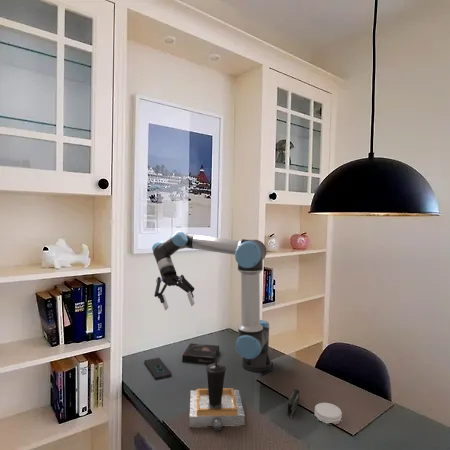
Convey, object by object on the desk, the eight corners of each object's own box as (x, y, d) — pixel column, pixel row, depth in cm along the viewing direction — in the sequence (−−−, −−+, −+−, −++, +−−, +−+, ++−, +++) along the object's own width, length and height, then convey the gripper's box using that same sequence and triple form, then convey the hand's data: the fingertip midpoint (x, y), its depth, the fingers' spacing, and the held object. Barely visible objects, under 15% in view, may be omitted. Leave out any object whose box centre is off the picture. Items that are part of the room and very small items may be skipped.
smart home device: (155, 377, 157) (143, 360, 175) (155, 381, 157) (143, 363, 175) (172, 373, 161) (159, 357, 179) (172, 377, 161) (159, 360, 179)
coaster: (347, 421, 130) (347, 412, 130) (328, 429, 125) (328, 419, 125) (327, 408, 139) (327, 399, 138) (309, 414, 134) (309, 405, 133)
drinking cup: (222, 409, 128) (224, 356, 128) (203, 406, 130) (204, 354, 129) (226, 398, 136) (228, 348, 135) (208, 395, 138) (209, 346, 137)
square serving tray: (238, 399, 143) (238, 386, 143) (245, 431, 122) (245, 416, 122) (190, 399, 141) (190, 386, 141) (189, 432, 120) (189, 417, 120)
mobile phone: (293, 387, 145) (285, 404, 131) (300, 388, 144) (293, 406, 130) (292, 398, 145) (285, 417, 131) (299, 400, 144) (293, 419, 130)
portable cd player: (219, 352, 191) (219, 345, 191) (213, 365, 174) (213, 358, 174) (190, 349, 193) (190, 342, 193) (182, 363, 176) (182, 355, 176)
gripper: (186, 271, 180) (200, 306, 168) (140, 275, 165) (152, 314, 154) (191, 263, 175) (206, 298, 163) (145, 266, 161) (157, 305, 149)
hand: (180, 306), depth 158 cm, fingers open, 13 cm apart
